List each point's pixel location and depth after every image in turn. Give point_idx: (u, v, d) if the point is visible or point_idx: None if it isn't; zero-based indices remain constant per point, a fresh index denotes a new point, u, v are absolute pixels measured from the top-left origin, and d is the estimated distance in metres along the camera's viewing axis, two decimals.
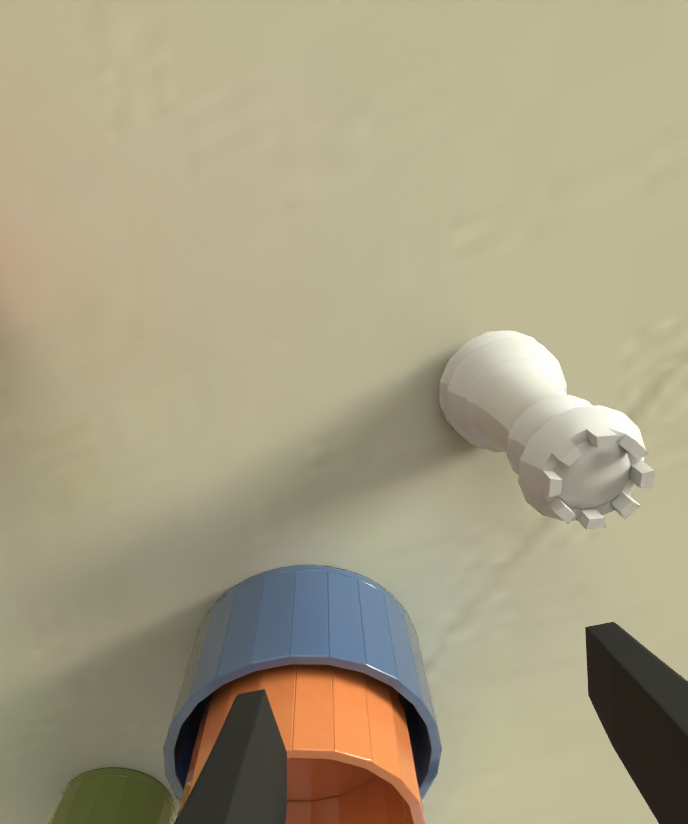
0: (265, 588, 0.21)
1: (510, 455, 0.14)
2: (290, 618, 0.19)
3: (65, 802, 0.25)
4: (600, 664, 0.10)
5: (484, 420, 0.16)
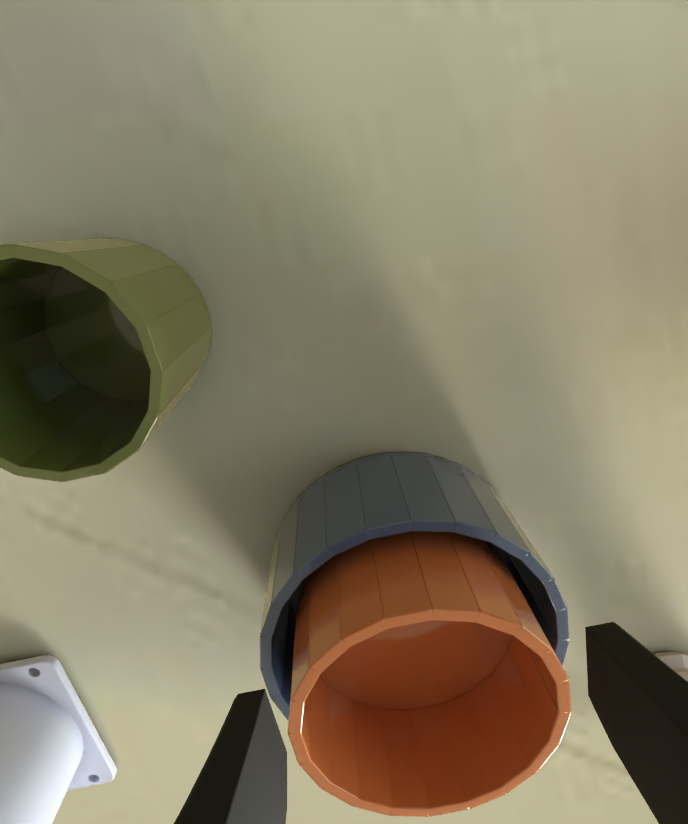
0: None
1: None
2: None
3: (180, 279, 0.16)
4: (600, 664, 0.10)
5: None
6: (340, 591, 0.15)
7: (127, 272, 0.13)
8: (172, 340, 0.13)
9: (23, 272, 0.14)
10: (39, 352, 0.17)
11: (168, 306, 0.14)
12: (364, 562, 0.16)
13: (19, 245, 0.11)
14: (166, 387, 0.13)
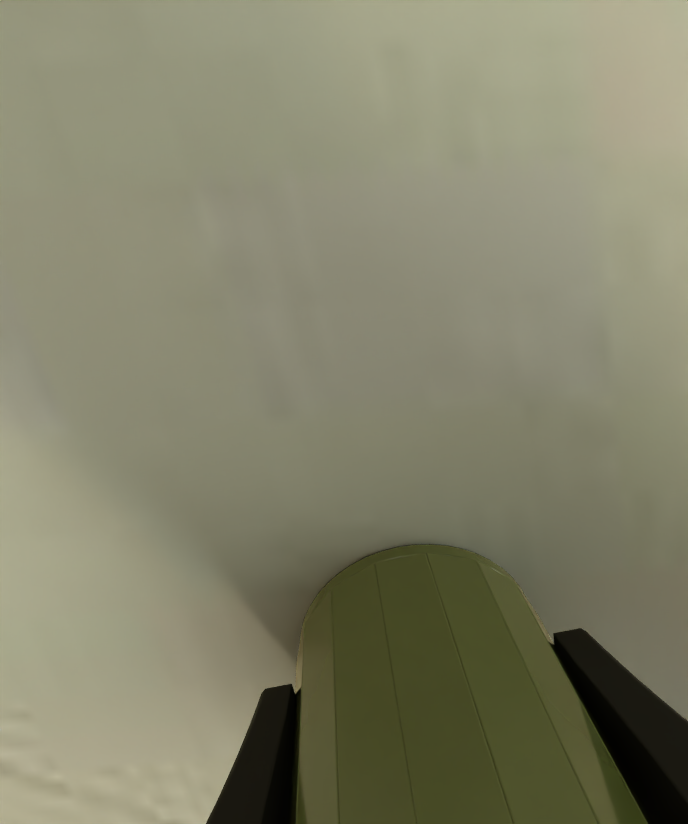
0: None
1: None
2: None
3: (538, 621, 0.11)
4: None
5: None
6: None
7: (607, 760, 0.08)
8: None
9: None
10: None
11: None
12: None
13: None
14: None
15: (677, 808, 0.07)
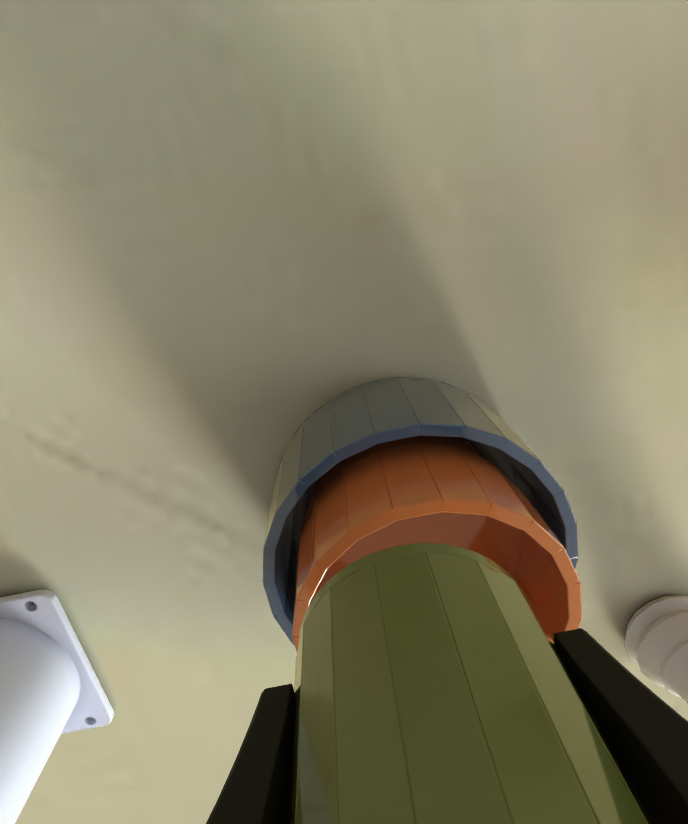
0: None
1: None
2: None
3: (538, 619, 0.11)
4: None
5: None
6: (346, 496, 0.15)
7: (606, 757, 0.08)
8: None
9: None
10: None
11: (618, 758, 0.08)
12: (371, 469, 0.15)
13: None
14: None
15: (677, 808, 0.07)
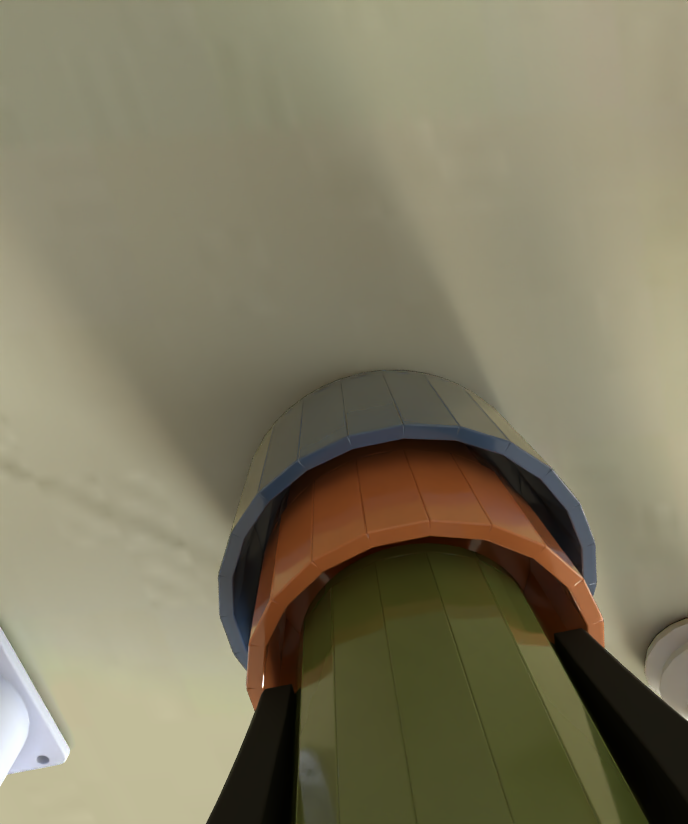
0: None
1: None
2: None
3: (538, 619, 0.11)
4: None
5: None
6: (314, 513, 0.12)
7: (606, 757, 0.08)
8: None
9: None
10: None
11: (619, 759, 0.08)
12: (345, 479, 0.13)
13: None
14: None
15: (677, 808, 0.07)
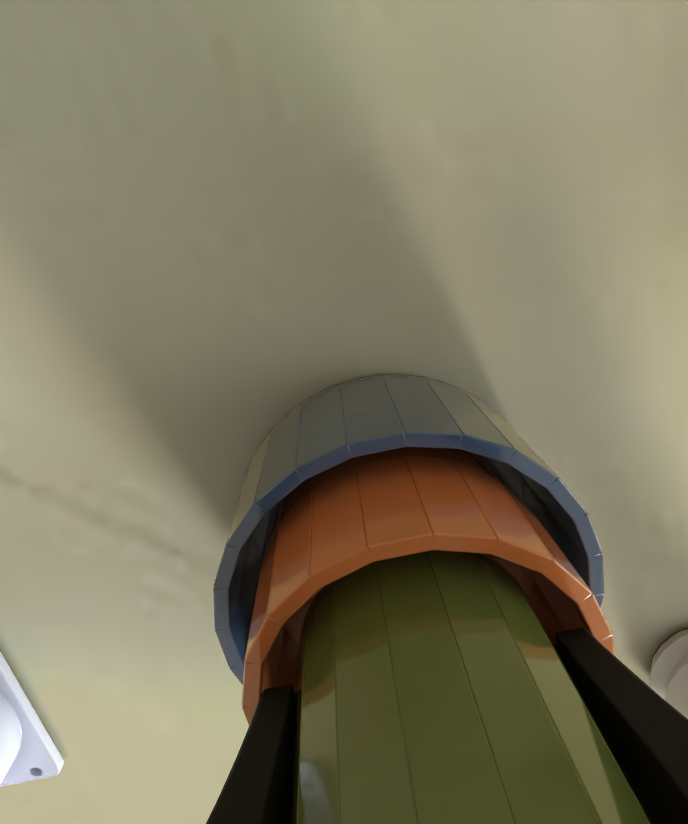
0: None
1: None
2: None
3: (539, 619, 0.11)
4: None
5: None
6: (313, 524, 0.12)
7: (608, 757, 0.08)
8: None
9: None
10: None
11: (620, 759, 0.08)
12: (345, 489, 0.12)
13: None
14: None
15: (680, 808, 0.07)
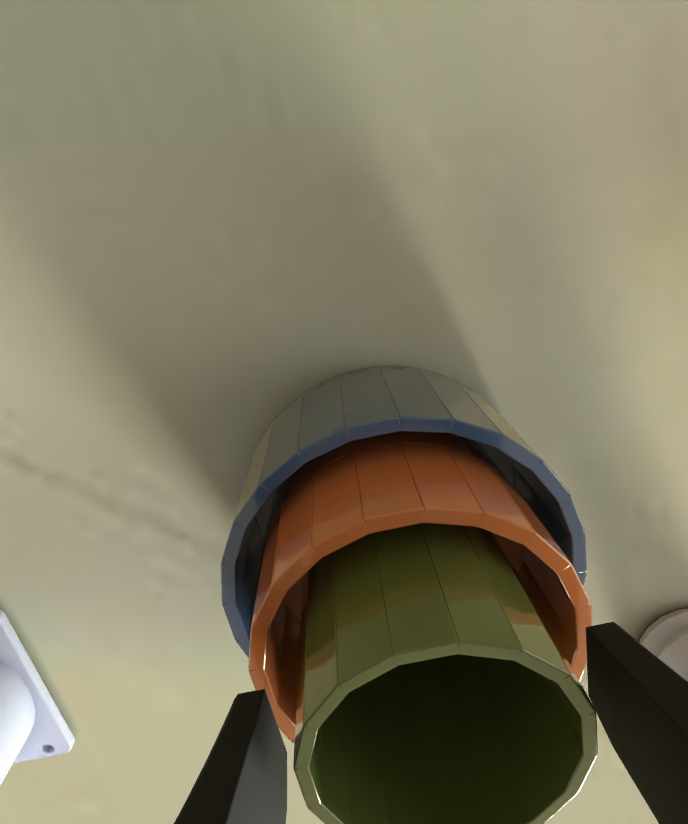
0: None
1: None
2: None
3: (496, 538, 0.14)
4: (600, 664, 0.10)
5: None
6: (314, 503, 0.13)
7: (532, 613, 0.10)
8: None
9: None
10: None
11: (547, 626, 0.11)
12: (344, 470, 0.13)
13: (469, 641, 0.09)
14: None
15: None
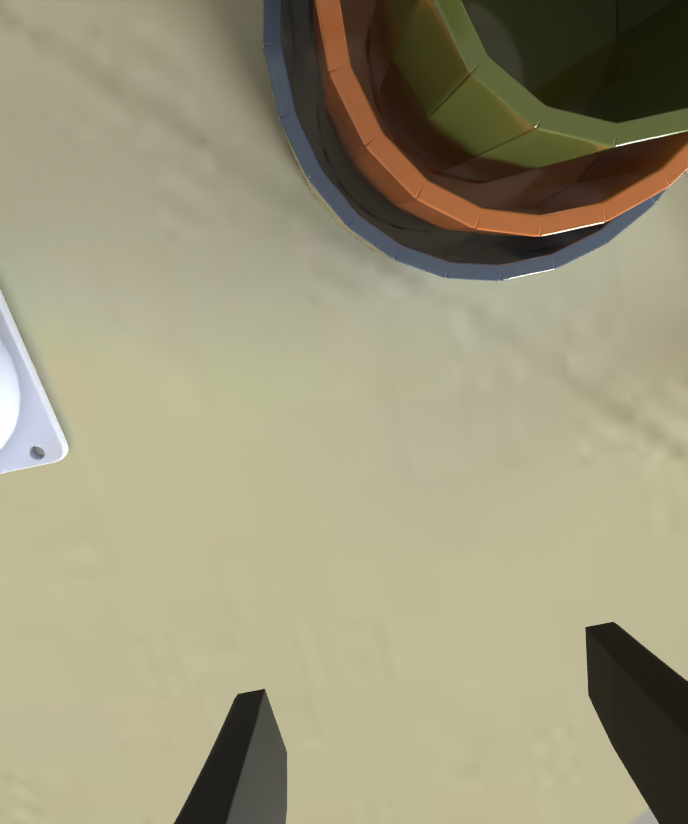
0: None
1: None
2: None
3: None
4: (600, 664, 0.10)
5: None
6: None
7: None
8: None
9: None
10: None
11: None
12: None
13: None
14: None
15: None
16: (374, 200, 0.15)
